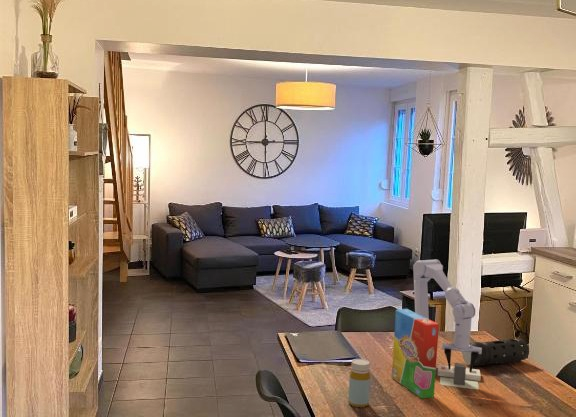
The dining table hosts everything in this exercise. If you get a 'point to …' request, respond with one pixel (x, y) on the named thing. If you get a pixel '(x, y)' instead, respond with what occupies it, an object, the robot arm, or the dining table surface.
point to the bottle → (359, 383)
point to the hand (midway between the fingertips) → (459, 369)
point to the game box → (415, 352)
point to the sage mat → (467, 385)
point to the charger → (459, 373)
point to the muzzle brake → (499, 352)
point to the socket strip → (450, 373)
